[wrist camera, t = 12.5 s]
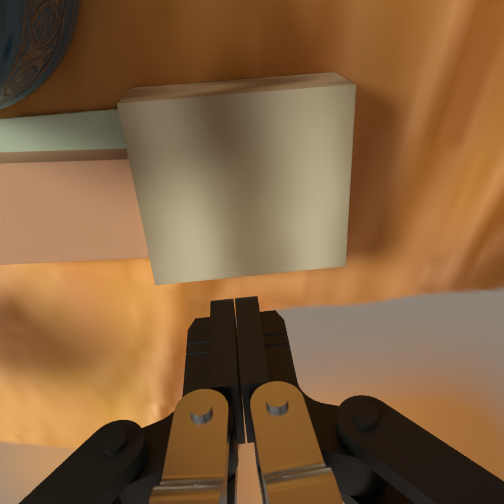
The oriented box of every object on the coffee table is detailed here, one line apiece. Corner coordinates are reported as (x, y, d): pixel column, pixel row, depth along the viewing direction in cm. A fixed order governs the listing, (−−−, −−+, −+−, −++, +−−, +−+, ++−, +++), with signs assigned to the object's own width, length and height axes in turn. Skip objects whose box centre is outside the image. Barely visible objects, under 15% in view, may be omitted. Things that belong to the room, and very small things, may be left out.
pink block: (139, 147, 24) (134, 159, 23) (152, 241, 27) (148, 257, 26) (-28, 153, 24) (-46, 165, 22) (4, 248, 27) (-10, 265, 25)
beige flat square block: (334, 71, 23) (356, 84, 20) (328, 233, 29) (345, 266, 25) (130, 88, 23) (116, 103, 20) (161, 249, 28) (155, 285, 25)
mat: (134, 107, 23) (133, 108, 23) (159, 236, 28) (158, 238, 27) (-74, 124, 23) (-78, 125, 23) (-18, 253, 27) (-20, 255, 27)
